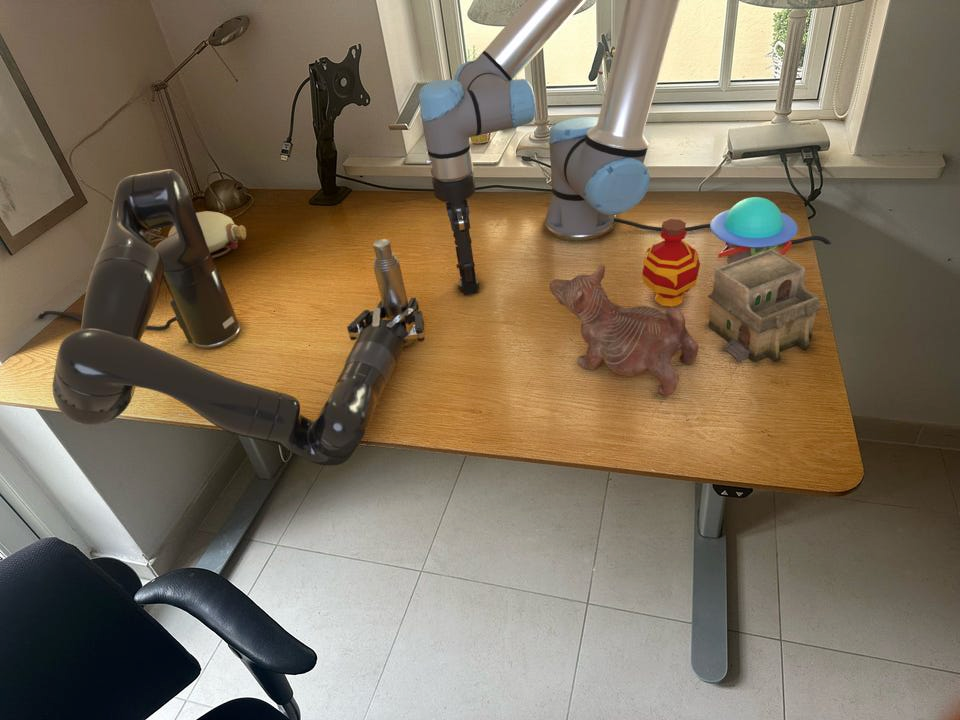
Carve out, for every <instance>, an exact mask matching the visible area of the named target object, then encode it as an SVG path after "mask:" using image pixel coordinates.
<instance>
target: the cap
mask: <svg viewBox="0 0 960 720" xmlns="http://www.w3.org/2000/svg"><path fill="white" fill-rule="evenodd" d="M476 283H477V290H478V291H479V288H480V282H479V279H478V278H477V277H476ZM457 284H458V285H457V287H458V291H459V292H460V293H461V294H464V291H463V285H462V279H459V280H458V283H457Z"/></svg>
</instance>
